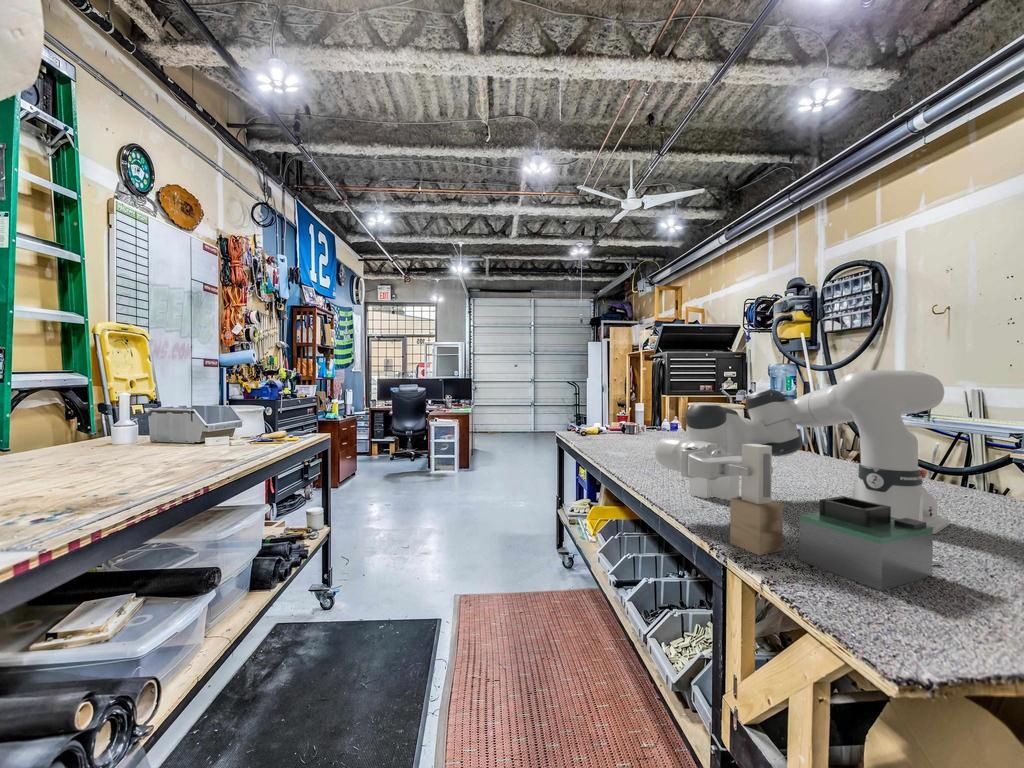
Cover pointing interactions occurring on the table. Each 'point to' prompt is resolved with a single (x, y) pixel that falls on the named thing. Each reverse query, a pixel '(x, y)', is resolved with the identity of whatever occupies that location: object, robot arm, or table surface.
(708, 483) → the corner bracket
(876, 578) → the green-topped socket block
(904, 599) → the table surface
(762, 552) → the parts stand
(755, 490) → the keyed plug
